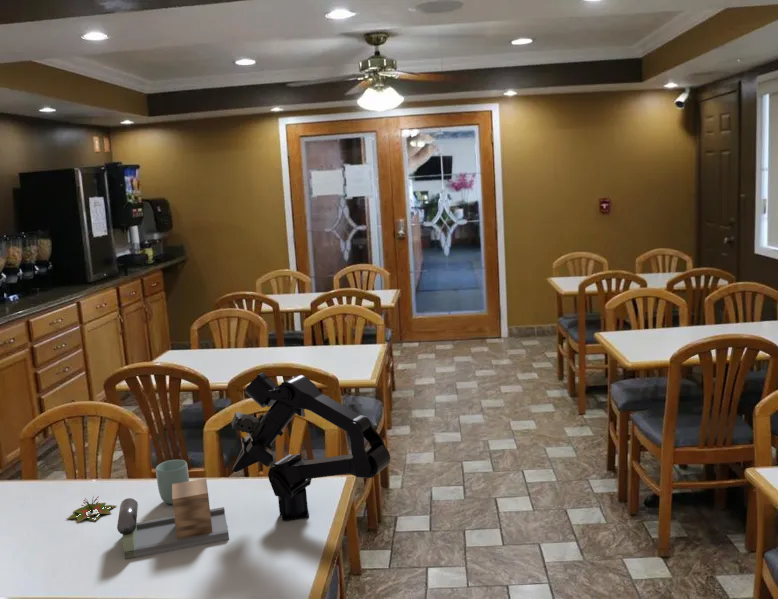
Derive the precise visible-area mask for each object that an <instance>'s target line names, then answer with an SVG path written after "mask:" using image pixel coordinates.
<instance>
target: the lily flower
mask: <svg viewBox="0 0 778 599" xmlns="http://www.w3.org/2000/svg"><path fill="white" fill-rule="evenodd" d="M94 497H95V495H93V496H92V500H90V499H91V498H89V501H90V502H89V501H88V499H86V497H84V499H83V501H82V502H83V504H85V505H83V504H81V507H79V508H77V509H76V510H74V512H75V513H72V514H71V515H69V516H68V517H67V518H66V520H68V519H69V520H70V519H77V523H80V522H82V521H83V520H84V519H87V520H89V521H94V522H96V521H97V520H99V519H100V517H101V516H102V514H105V515H107V514H109V515H112V512H111V511H110V510H111V509H113V508H115V507H116V505H113V504H108V505H106V503H107V502H99V501H97V500H99V499H98V498H99V497H100V496H99V495H98V496H97V497H96V498H95V499H94ZM96 501H97V502H96ZM104 503H105V504H104ZM103 507H104V509H102V508H103ZM105 507H106V508H105ZM109 507H112V508H110V509H107V508H109ZM95 509H97V510H98V512H99V513H97V514H101V515H99V516H98V517H96V521H95V520H94V519H92V518H87V517H93V516H94V515H95V516H96V515H97V514H96V513H94V511H93V510H95ZM90 510H91V511H90ZM88 511H90V512H89V513H90V514H88V515H89V516H87V515H86V512H88ZM79 514H81V515H79ZM78 515H79V516H78ZM76 516H78V517H76Z"/></svg>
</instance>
